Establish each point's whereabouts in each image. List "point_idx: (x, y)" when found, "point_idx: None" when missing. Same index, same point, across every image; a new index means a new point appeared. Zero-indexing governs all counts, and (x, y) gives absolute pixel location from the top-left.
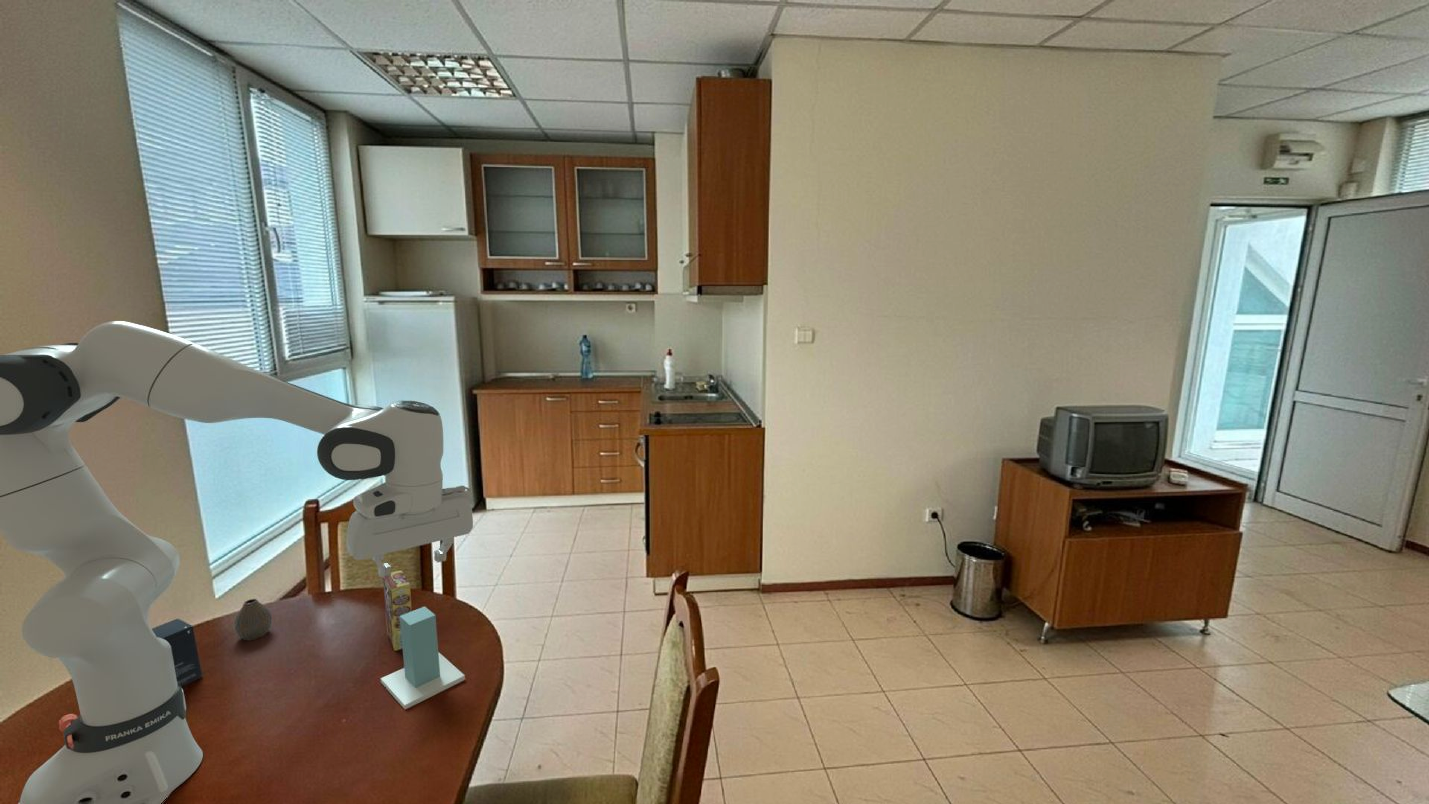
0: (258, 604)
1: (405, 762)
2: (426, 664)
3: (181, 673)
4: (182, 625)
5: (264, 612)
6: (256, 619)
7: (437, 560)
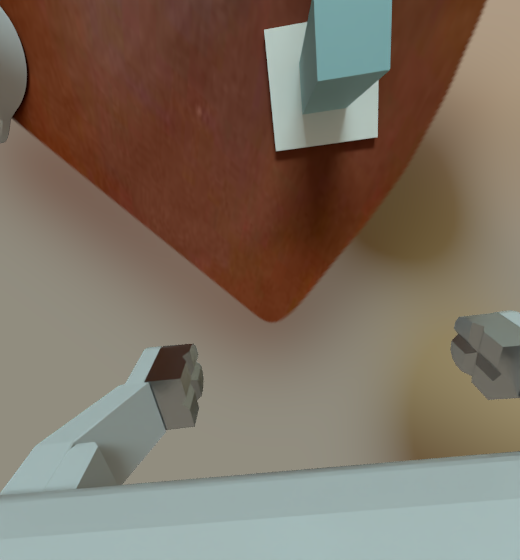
0: None
1: (249, 259)
2: (329, 104)
3: None
4: None
5: None
6: None
7: (458, 356)
